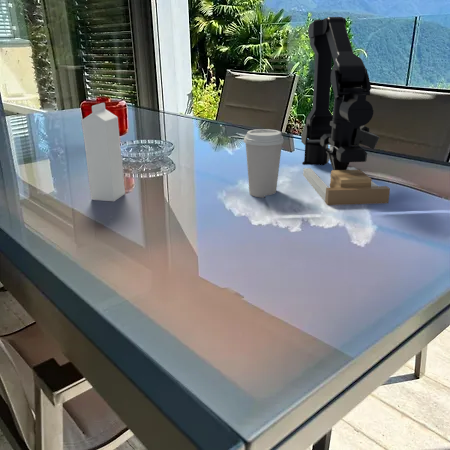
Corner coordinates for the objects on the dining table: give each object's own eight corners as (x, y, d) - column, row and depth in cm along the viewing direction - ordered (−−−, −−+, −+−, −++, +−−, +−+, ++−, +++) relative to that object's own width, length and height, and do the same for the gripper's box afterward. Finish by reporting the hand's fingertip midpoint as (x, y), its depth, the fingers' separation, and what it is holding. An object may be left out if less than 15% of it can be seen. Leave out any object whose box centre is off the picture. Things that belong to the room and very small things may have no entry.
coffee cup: (285, 189, 116) (288, 129, 110) (277, 201, 107) (279, 137, 102) (249, 186, 119) (250, 127, 113) (238, 197, 110) (238, 135, 105)
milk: (91, 200, 110) (78, 105, 101) (103, 192, 115) (92, 102, 107) (114, 201, 108) (103, 106, 100) (125, 193, 114) (116, 102, 105)
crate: (329, 190, 113) (331, 170, 111) (357, 189, 113) (359, 169, 111) (339, 200, 105) (341, 180, 104) (369, 199, 106) (371, 179, 104)
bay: (303, 177, 125) (303, 163, 124) (353, 175, 126) (354, 161, 125) (327, 207, 103) (328, 190, 102) (387, 205, 104) (390, 188, 103)
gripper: (393, 125, 102) (384, 191, 108) (364, 111, 119) (357, 169, 125) (344, 126, 102) (338, 192, 108) (322, 112, 119) (317, 170, 125)
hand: (339, 180), depth 116 cm, fingers closed
